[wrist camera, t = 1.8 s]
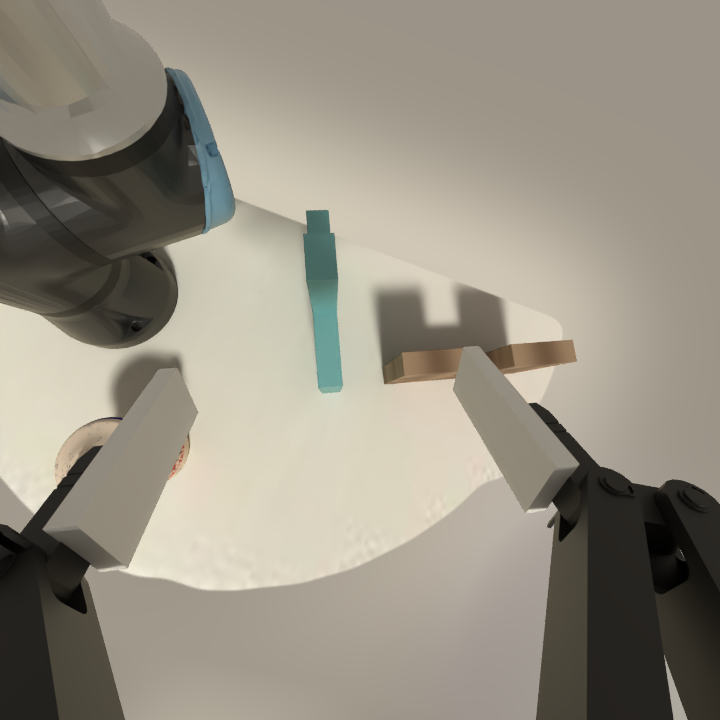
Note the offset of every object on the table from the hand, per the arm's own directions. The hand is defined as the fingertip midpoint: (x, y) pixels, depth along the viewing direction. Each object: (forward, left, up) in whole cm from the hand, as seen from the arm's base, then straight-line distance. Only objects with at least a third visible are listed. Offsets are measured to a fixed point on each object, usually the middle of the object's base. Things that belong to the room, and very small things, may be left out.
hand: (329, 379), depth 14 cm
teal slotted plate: (-2, +11, -28) cm, 30 cm away
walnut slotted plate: (+17, +6, -28) cm, 33 cm away
